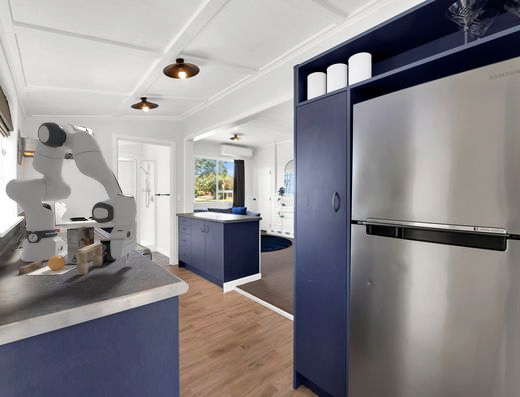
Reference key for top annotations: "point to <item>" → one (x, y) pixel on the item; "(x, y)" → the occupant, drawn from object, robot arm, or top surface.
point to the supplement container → (106, 250)
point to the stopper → (30, 267)
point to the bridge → (83, 257)
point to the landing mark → (53, 272)
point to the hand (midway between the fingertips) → (125, 263)
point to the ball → (56, 262)
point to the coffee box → (79, 242)
